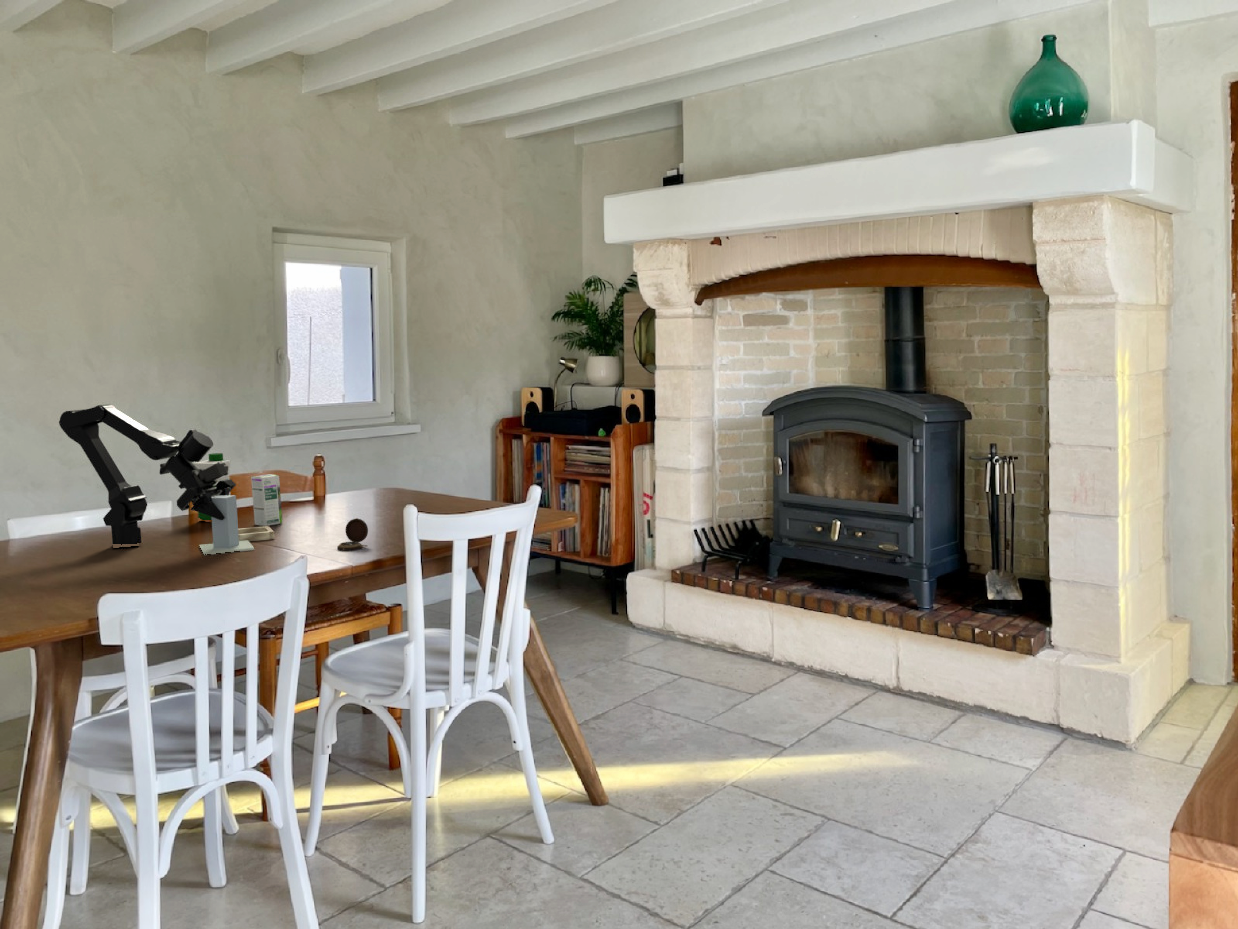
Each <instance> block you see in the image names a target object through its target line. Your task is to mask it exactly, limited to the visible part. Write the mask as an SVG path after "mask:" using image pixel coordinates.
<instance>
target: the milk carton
mask: <svg viewBox="0 0 1238 929" xmlns="http://www.w3.org/2000/svg"><path fill="white" fill-rule="evenodd" d="M220 461H222V462H223V463H225V464H226V465H227V466H228V467H229V468H228V474H227V475H224V476H222V477H220V478H218V479H216V480H217V483H218V482H219V481H221V480H225V479H230V469H231V460H229V459H228V460H227V459H224V453H222V452H221V453H220V452H217V453H208V459H207V460H200V461H199V462H192V463H193V464H194V465H195V466H196V467H197V468H198V469H202V468H203V469H207V468H209V467H211V466H213V465H214V464H216V463H217V462H220ZM217 483H216V484H217ZM216 484H214V485H213V488H214V487H215V486H216ZM229 495H231V491H230V492H229ZM198 518H200V519H202V520H212V518H211V516H208V515H205V514H203V513H200V512H197V519H198Z"/></svg>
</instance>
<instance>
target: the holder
mask: <svg viewBox="0 0 1238 929" xmlns="http://www.w3.org/2000/svg"><path fill="white" fill-rule="evenodd" d="M238 534H239V541H243V540H248V541H249V542H256V541H267V540H275V531H274V530H273V529H272V528H271V527H270V526H254V527H245V528H244V527H243V528H238Z"/></svg>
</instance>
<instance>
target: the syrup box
mask: <svg viewBox="0 0 1238 929" xmlns="http://www.w3.org/2000/svg"><path fill="white" fill-rule="evenodd" d="M250 479H251V491H252V492H251V493H252V504H253V505H252V506H253V516H254V520H253V521H254V525H255V526H258V527H263V526H269V527H270V526H275V525H280V524H283V513H282V512H283V511H282V499H281V496H282V495H281V483H280V476H279V475H278V474H273V473H272V474H271V473H270V474H261V475H256V476H251V478H250Z"/></svg>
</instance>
